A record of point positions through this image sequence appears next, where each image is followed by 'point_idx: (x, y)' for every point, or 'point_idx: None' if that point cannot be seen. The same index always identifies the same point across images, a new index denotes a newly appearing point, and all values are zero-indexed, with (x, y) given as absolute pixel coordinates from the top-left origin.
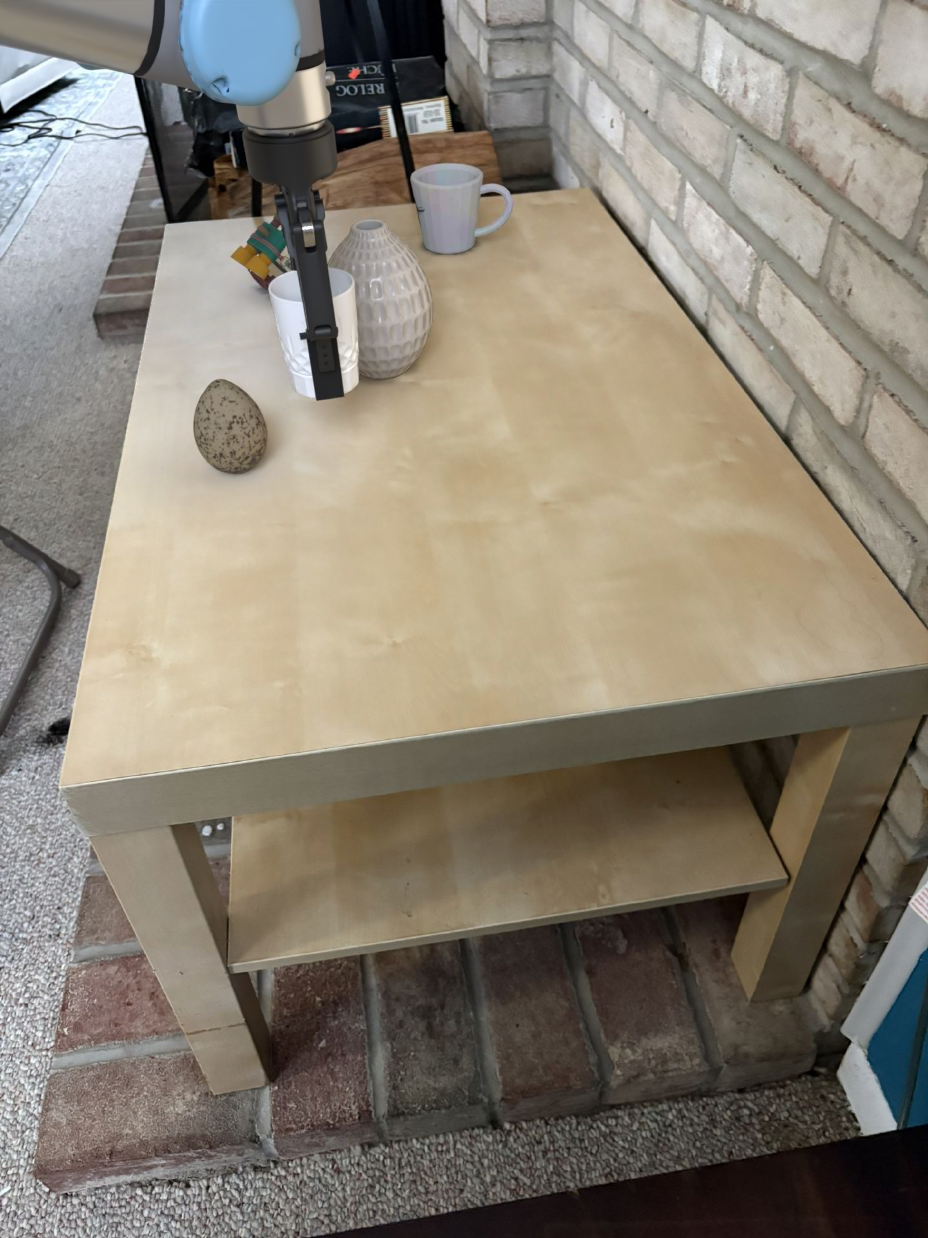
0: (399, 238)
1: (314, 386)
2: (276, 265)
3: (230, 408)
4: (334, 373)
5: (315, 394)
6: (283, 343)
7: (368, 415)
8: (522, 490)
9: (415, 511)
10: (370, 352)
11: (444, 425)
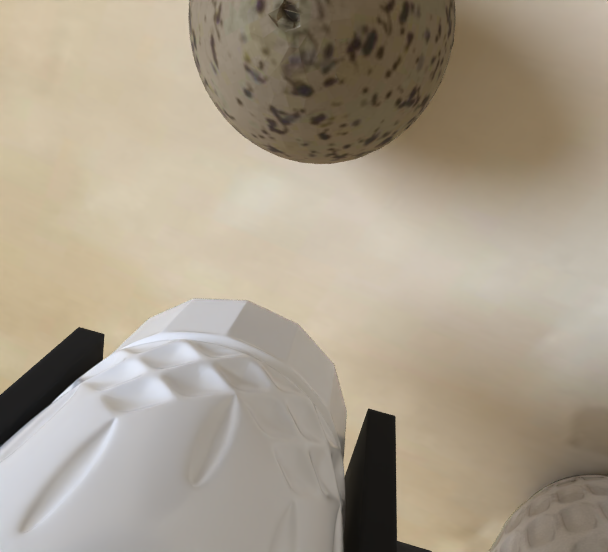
0: None
1: (45, 356)
2: None
3: (201, 32)
4: None
5: (66, 339)
6: (143, 400)
7: (398, 407)
8: None
9: (19, 325)
10: (509, 550)
11: None
